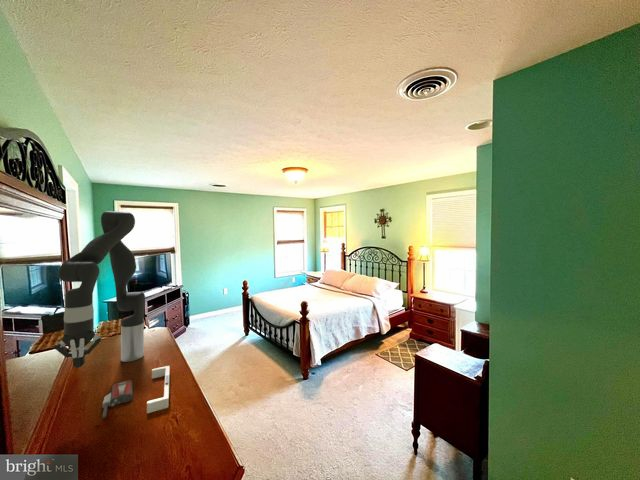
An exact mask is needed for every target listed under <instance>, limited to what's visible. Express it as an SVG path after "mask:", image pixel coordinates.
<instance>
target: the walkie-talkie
mask: <svg viewBox="0 0 640 480" xmlns="http://www.w3.org/2000/svg"><path fill="white" fill-rule="evenodd" d="M133 395H134V390H133V380H131V379H127V380H124V381H120V382H116V383H114V384H113V385H112V386H111V387H110V392H109V393H108V394H107V395H105V396H104V397H103V401H102V404H101V405H102V407H101V408H102V409H103V411H102V419H106V418H107V414H108V408H109V407H114V406H118V405H120V404H126V403H128V402H130V401H132V400H133Z"/></svg>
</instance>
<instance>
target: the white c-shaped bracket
mask: <svg viewBox="0 0 640 480" xmlns="http://www.w3.org/2000/svg"><path fill="white" fill-rule="evenodd" d="M170 368H171V367H170V365H165V366H161V367H156V368H152V369H151V371H152V372H151V379H157V378H162V377H164V385H163V386H164V387H163V390H164V391H163V397H159V398H155V399H151V400H148V401H147V402H146V414H150V413H154V412H156V411H161V410H165V409H168V408H169V405H170V404H169V398H170V397H169V396H170V375H171V374H170Z"/></svg>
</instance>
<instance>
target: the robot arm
mask: <svg viewBox="0 0 640 480" xmlns="http://www.w3.org/2000/svg"><path fill="white" fill-rule="evenodd" d="M100 223H101V228H102V232H103V233H102V234H101V235H98V236H96V237H95V238H93V239H91V240H90V241H89V242H88V243H87V244H86V245H85V246H84V248H83V249H82V250H81V251H80V252H78V253H76V254H74V255H73V256H71V257H70V258H68V259H67V260H65V261H64V262H63V263H62V264H61V265H60V266H59V268H58V270H57V277H58V279H59V280H60V281H62V282H65V283H81V284H80V285H79V287H75V288H71V289H69V290H67V291H66V292H65V294H64V295H65V297H64V301H65V302H64V312H63V337H62V339H61V340H60V341H58V342H56V343H55V345H53V349H54V350H56V351H57V352H58V353H60V354H61V355H62V356H64V357H65V358H67V359H68V358H72V367H73V368H75V369H80V368H82V367H83V366H84V364H85V363H86V355H89V354H91V353H92V351H93V350H95V348H96V347H97V346H98V345H99V344H100V343H101V342H102V340H103V336H99V335H96V333H95V330H94V311H95V310H94V304H93V302H94V301H93V294H94V289H95V287H96V283H97V281H98V277H99V276H100V267H99V264H100V263H102V262H103V260H105V258H106V257H107V255H109V260H110V266H111V272H112V275H113V281H114V287H115V297H116V299H115V300H116V307H117V309H118V310H119V311H120V312H132V311H133V312H134V313H133V314H132V315H129V316H125V317H124V318H122V319H121V321H120V361H121V362H123V363H124V362H125V363H126V362H127V363H129V362H133V361H134V362H135V361H137V360H139V359H142V358H143V357H144V354H145V353H144V350H145V349H144V343H145V342H144V341H145V340H144V339H145V337H144V336H145V335H144V332H145V328H144V327H145V326H144V325H145V321H144V320H145V306H146V295H145V293H144V292H143V291H133V292H132V291H131V292H128V290H127V288H128V283H129V282H130V281H131V279H132V278H133V276H134V275H135V273H136V271H137V263H136V257H135V254H134V253H133V252H132V251H131V249H130V248H128V246H127V245H125V243H123V241H122V240H123V239H124V238H125V237H126V236H127V235H129V234H130V232H132V230H133V229H134V228H135V226H136V225H135V224H136V218H135V216H134V214H132V213H131V212H128V211H114V210H105V211H104V212H102V214H101V217H100ZM91 341H92V344H91V345H90V346H89V348H87V345H89V344H90V342H91ZM69 348H70V349H69Z"/></svg>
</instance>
